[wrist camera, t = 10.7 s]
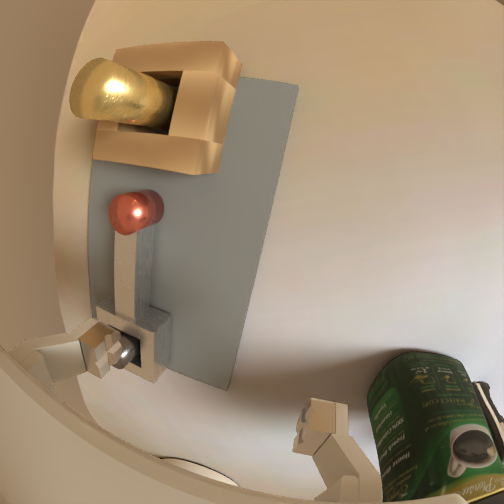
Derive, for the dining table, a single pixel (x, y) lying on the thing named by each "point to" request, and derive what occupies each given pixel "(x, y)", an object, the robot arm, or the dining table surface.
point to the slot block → (177, 108)
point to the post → (127, 349)
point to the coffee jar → (432, 432)
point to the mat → (202, 231)
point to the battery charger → (491, 417)
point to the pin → (121, 95)
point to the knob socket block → (137, 282)
